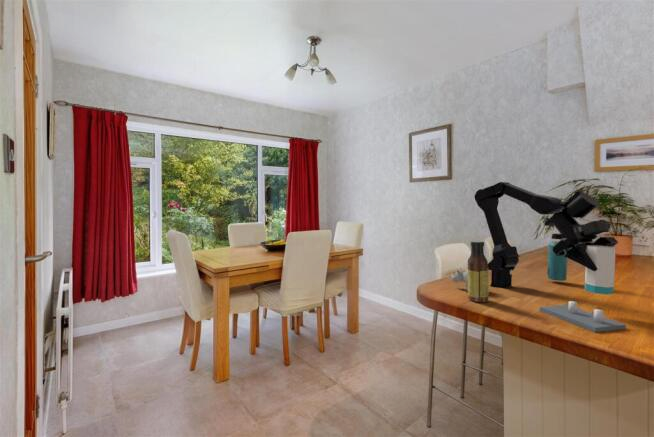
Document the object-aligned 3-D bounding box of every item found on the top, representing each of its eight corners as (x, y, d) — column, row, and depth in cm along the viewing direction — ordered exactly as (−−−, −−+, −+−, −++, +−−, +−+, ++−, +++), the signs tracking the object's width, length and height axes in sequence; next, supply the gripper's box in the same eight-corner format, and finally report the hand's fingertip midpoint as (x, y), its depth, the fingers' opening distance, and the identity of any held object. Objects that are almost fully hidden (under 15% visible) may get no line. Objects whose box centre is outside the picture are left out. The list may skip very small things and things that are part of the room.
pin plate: (539, 310, 95) (540, 297, 95) (566, 308, 97) (567, 295, 97) (594, 332, 79) (595, 316, 79) (625, 329, 82) (626, 313, 81)
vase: (586, 292, 91) (589, 247, 90) (583, 287, 96) (585, 244, 95) (614, 295, 88) (617, 249, 87) (609, 290, 93) (612, 246, 92)
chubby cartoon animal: (454, 285, 125) (455, 263, 124) (487, 290, 117) (488, 267, 116) (447, 288, 120) (448, 266, 119) (481, 294, 112) (482, 271, 111)
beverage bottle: (570, 284, 125) (572, 234, 124) (553, 284, 125) (555, 234, 124) (558, 280, 132) (560, 232, 130) (542, 280, 132) (544, 232, 131)
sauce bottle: (486, 298, 107) (488, 240, 106) (489, 304, 101) (491, 242, 100) (465, 296, 109) (467, 239, 108) (467, 302, 104) (469, 241, 102)
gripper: (563, 210, 92) (601, 254, 82) (612, 210, 96) (655, 252, 86) (538, 234, 100) (570, 277, 90) (585, 233, 104) (620, 274, 94)
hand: (604, 269), depth 90 cm, fingers closed on vase, 6 cm apart
